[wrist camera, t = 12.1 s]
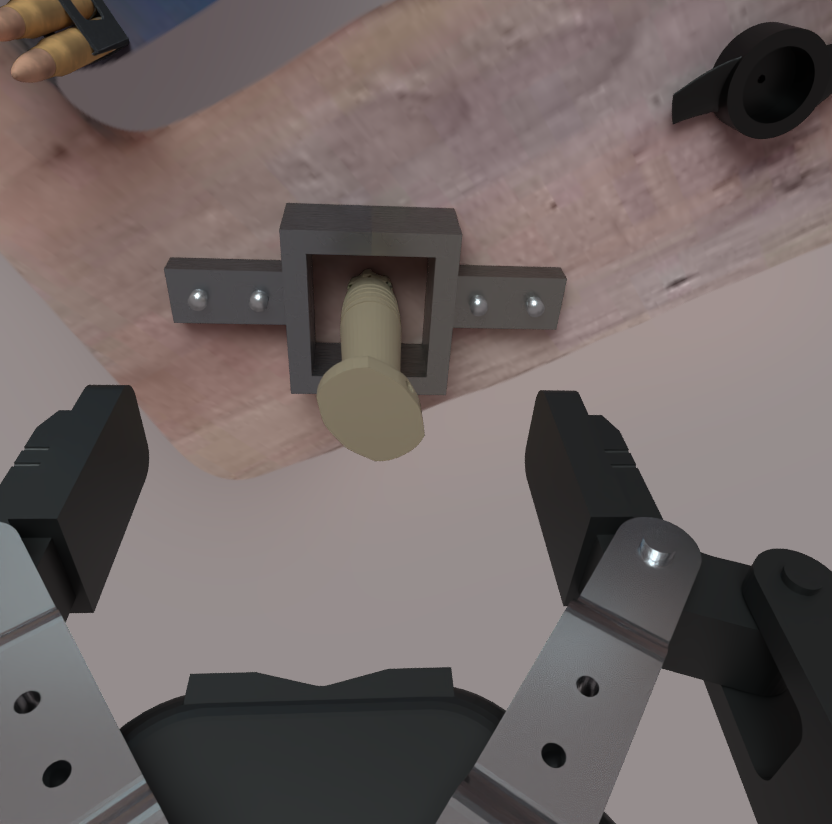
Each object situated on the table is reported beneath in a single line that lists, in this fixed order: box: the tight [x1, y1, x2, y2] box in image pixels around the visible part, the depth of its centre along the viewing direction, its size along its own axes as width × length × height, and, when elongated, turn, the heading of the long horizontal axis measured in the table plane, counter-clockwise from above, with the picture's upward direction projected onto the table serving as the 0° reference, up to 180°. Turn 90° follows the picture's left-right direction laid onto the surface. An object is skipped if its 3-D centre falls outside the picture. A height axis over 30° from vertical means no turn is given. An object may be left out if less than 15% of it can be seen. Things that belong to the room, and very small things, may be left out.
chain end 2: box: [371, 206, 567, 395], centre depth 46 cm, size 14×12×4 cm
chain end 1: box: [164, 203, 372, 394], centre depth 44 cm, size 14×12×4 cm
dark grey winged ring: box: [672, 22, 832, 139], centre depth 39 cm, size 8×10×3 cm
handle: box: [316, 269, 424, 461], centre depth 41 cm, size 5×6×15 cm
